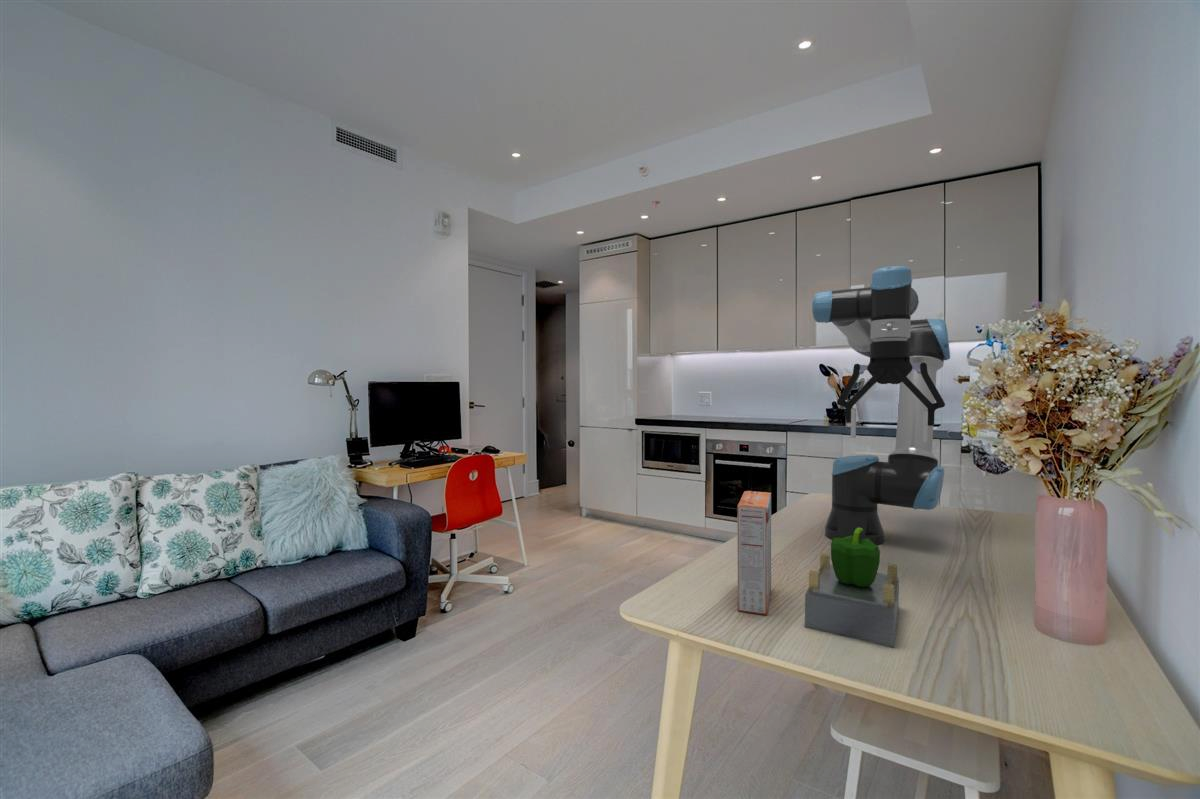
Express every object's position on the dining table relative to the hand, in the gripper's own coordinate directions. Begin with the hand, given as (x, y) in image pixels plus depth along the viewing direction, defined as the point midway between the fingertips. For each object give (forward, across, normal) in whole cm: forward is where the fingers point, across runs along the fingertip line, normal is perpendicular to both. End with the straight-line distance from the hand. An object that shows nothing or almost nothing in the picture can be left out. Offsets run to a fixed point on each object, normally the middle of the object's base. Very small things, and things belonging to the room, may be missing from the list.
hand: (888, 439), depth 113 cm
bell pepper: (+25, -4, -21) cm, 33 cm away
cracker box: (+32, -22, -23) cm, 45 cm away
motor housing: (+32, -4, -19) cm, 37 cm away
